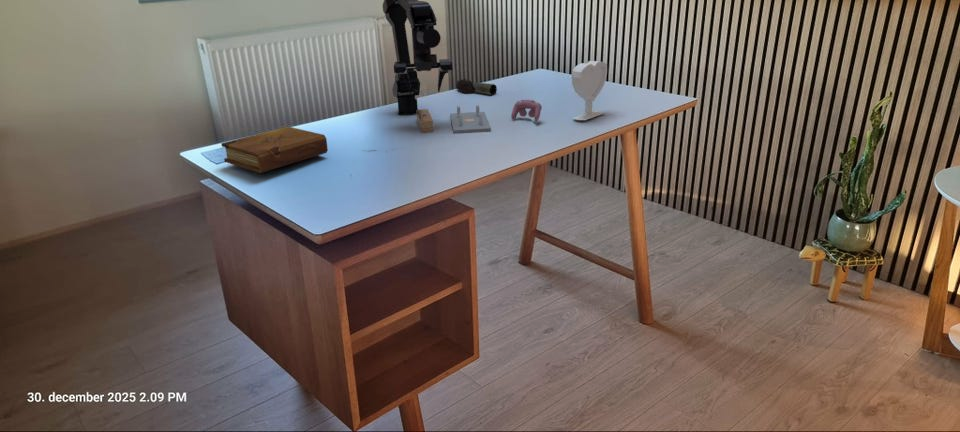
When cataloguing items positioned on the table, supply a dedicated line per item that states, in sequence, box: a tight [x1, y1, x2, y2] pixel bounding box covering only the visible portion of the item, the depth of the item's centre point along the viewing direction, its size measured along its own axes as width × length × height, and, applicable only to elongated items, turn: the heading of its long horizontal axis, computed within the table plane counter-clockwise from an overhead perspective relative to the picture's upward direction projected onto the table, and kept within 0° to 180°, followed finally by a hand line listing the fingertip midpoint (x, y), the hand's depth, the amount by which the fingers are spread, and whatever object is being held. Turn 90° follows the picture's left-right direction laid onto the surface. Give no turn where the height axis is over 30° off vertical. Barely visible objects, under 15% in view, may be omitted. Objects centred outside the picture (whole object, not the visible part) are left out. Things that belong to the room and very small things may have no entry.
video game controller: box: [510, 99, 543, 122], centre depth 226 cm, size 10×5×7 cm, turn 65°
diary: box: [221, 125, 329, 174], centre depth 197 cm, size 23×19×6 cm
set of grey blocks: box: [456, 104, 483, 126], centre depth 224 cm, size 8×13×4 cm, turn 5°
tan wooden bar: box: [415, 108, 434, 134], centre depth 223 cm, size 4×16×4 cm, turn 10°
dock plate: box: [449, 111, 492, 134], centre depth 225 cm, size 12×22×1 cm, turn 5°
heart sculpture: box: [571, 60, 608, 121], centre depth 226 cm, size 16×5×18 cm, turn 137°
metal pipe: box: [456, 78, 498, 96], centre depth 263 cm, size 18×7×6 cm, turn 53°
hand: (424, 92), depth 220 cm, fingers open, 9 cm apart
